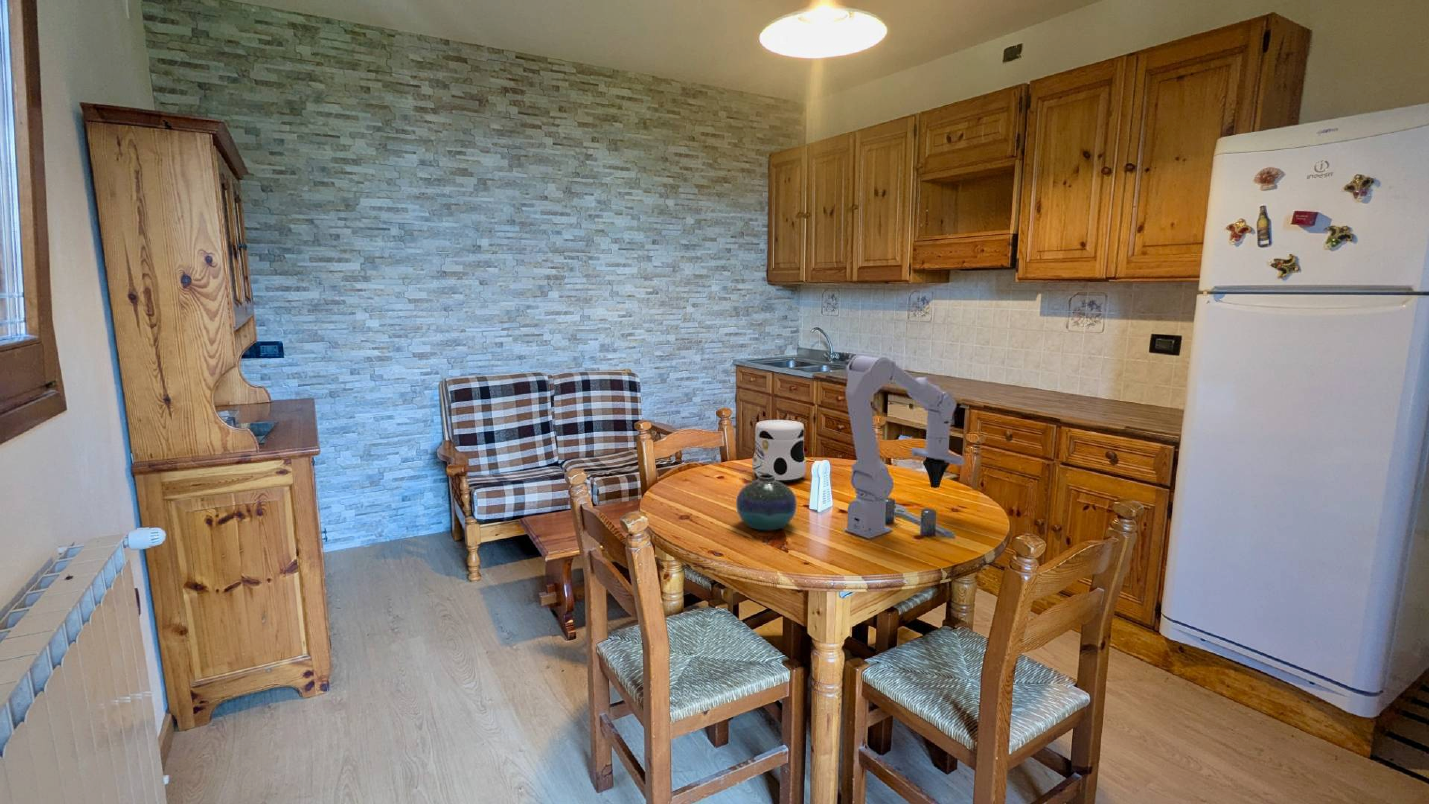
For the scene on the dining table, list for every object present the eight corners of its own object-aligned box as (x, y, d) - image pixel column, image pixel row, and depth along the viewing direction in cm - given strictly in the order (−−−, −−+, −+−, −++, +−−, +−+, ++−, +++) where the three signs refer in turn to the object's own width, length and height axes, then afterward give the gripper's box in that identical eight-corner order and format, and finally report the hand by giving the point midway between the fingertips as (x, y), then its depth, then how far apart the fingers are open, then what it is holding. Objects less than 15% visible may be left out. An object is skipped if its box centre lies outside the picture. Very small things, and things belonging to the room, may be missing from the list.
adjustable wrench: (956, 539, 163) (957, 532, 163) (934, 543, 161) (935, 536, 161) (897, 508, 187) (897, 502, 186) (877, 511, 185) (877, 505, 184)
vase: (803, 535, 165) (804, 482, 163) (742, 538, 163) (743, 485, 161) (787, 515, 180) (787, 467, 178) (730, 518, 178) (731, 469, 176)
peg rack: (929, 537, 163) (931, 514, 162) (877, 521, 175) (878, 499, 174) (938, 534, 165) (939, 511, 164) (885, 518, 177) (886, 496, 176)
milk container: (741, 478, 217) (741, 423, 214) (777, 469, 228) (777, 417, 226) (781, 489, 204) (782, 431, 202) (816, 479, 216) (818, 424, 213)
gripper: (971, 438, 172) (968, 490, 174) (922, 430, 183) (919, 478, 185) (956, 442, 167) (953, 495, 169) (907, 433, 178) (904, 483, 180)
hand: (935, 486), depth 177 cm, fingers closed
